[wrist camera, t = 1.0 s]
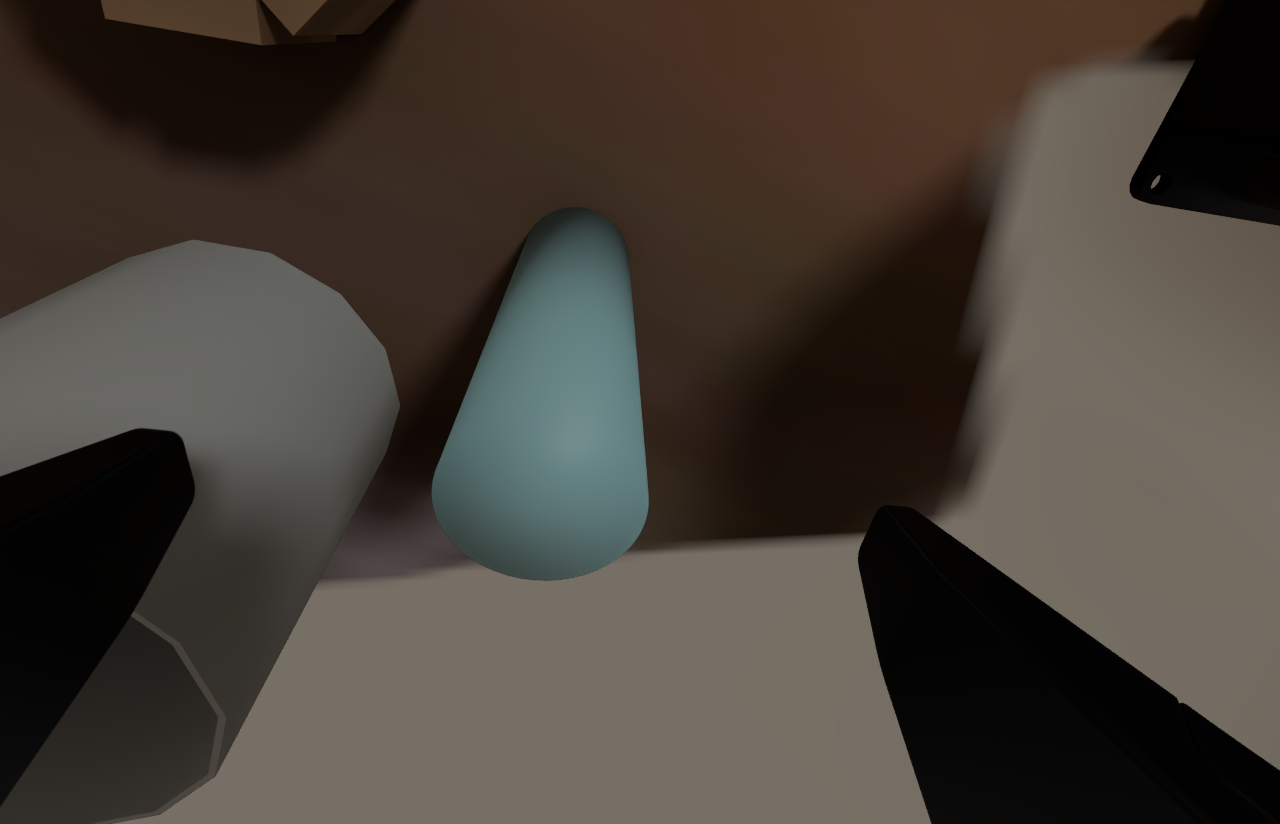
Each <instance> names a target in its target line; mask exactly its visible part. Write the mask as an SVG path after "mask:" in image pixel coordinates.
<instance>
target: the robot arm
mask: <svg viewBox="0 0 1280 824" xmlns="http://www.w3.org/2000/svg"><path fill="white" fill-rule="evenodd" d="M1159 175H1160V176H1161V177H1160V180H1159V182H1158V184H1157V185H1156V186H1155V187H1154V188H1152V189H1151V185H1152V182H1153V181H1154V179H1155V178H1156V177H1157V176H1159ZM1130 193H1131V195H1132V197H1133V198H1135V199H1137V200H1140V201H1143V202H1146V203H1149V204H1155V205H1160V206H1166V207H1172V208H1178V209H1184V210H1190V211H1196V212H1202V213H1208V214H1213V215H1219V216H1225V217H1231V218H1237V219H1243V220H1249V221H1256V222H1261V223H1267V224H1273V225H1279V226H1280V0H1228V1H1227V3H1226V5H1225V7H1224V8H1223V10H1222V12H1221V14H1220V16H1219V18H1218V20H1217V21H1216V23H1215V25H1214V27H1213V29H1212V31H1211V33H1210V34H1209V36H1208V38H1207V40H1206V42H1205V44H1204V46H1203V47H1202V49H1201V51H1200V53H1199V55H1198V57H1197V58H1196V60H1195V62H1194V64H1193V66H1192V68H1191V70H1190V71H1189V73H1188V75H1187V77H1186V79H1185V81H1184V83H1183V84H1182V86H1181V88H1180V90H1179V92H1178V94H1177V96H1176V97H1175V99H1174V101H1173V103H1172V105H1171V107H1170V108H1169V110H1168V112H1167V114H1166V116H1165V118H1164V120H1163V122H1162V123H1161V125H1160V127H1159V129H1158V131H1157V133H1156V134H1155V136H1154V138H1153V140H1152V142H1151V144H1150V146H1149V148H1148V149H1147V151H1146V153H1145V155H1144V157H1143V158H1142V161H1141V162H1140V164H1139V166H1138V168H1137V170H1136V172H1135V173H1134V175H1133V177H1132V180H1131V183H1130ZM194 496H195V482H194V478H193V474H192V471H191V467H190V463H189V459H188V456H187V452H186V448H185V445H184V442H183V439H182V438H181V436H180V435H179V434H178V433H176V432H174V431H169V430H160V429H150V428H136V429H132V430H130V431H127V432H124V433H121V434H118V435H115V436H113V437H110V438H107V439H104V440H101V441H98V442H96V443H93V444H90V445H87V446H84V447H82V448H79V449H76V450H73V451H70V452H67V453H65V454H62V455H59V456H56V457H53V458H50V459H48V460H45V461H42V462H39V463H36V464H33V465H31V466H28V467H25V468H22V469H19V470H16V471H14V472H11V473H8V474H5V475H2V476H0V807H1V806H2V804H3V803H4V801H5V800H6V799H7V797H8V796H9V794H10V793H11V791H12V790H13V788H14V787H15V785H16V784H17V782H18V781H19V780H20V778H21V777H22V775H23V774H24V772H25V771H26V769H27V768H28V766H29V765H30V763H31V762H32V761H33V759H34V758H35V756H36V755H37V753H38V752H39V750H40V749H41V747H42V746H43V744H44V743H45V742H46V740H47V739H48V737H49V736H50V734H51V733H52V731H53V730H54V728H55V727H56V725H57V724H58V723H59V721H60V720H61V718H62V717H63V715H64V714H65V712H66V711H67V709H68V708H69V706H70V705H71V704H72V702H73V701H74V699H75V698H76V696H77V695H78V693H79V692H80V690H81V689H82V687H83V686H84V685H85V683H86V682H87V680H88V679H89V677H90V676H91V674H92V673H93V671H94V670H95V668H96V667H97V666H98V664H99V663H100V661H101V660H102V658H103V657H104V655H105V654H106V652H107V651H108V649H109V648H110V647H111V645H112V644H113V642H114V641H115V639H116V638H117V636H118V635H119V633H120V632H121V630H122V629H123V627H124V626H125V624H126V623H127V621H128V620H129V618H130V616H131V615H132V613H133V612H134V610H135V608H136V607H137V605H138V603H139V601H140V600H141V598H142V596H143V595H144V593H145V591H146V589H147V587H148V585H149V583H150V582H151V580H152V578H153V576H154V574H155V572H156V570H157V569H158V567H159V565H160V563H161V561H162V559H163V557H164V555H165V554H166V552H167V550H168V548H169V546H170V544H171V542H172V541H173V539H174V537H175V535H176V533H177V531H178V529H179V528H180V526H181V524H182V522H183V520H184V518H185V516H186V514H187V513H188V511H189V509H190V507H191V505H192V503H193V500H194ZM858 564H859V570H860V575H861V580H862V584H863V589H864V594H865V598H866V603H867V608H868V612H869V617H870V622H871V627H872V632H873V636H874V641H875V645H876V650H877V654H878V658H879V662H880V666H881V670H882V673H883V676H884V680H885V683H886V686H887V689H888V692H889V695H890V698H891V701H892V705H893V708H894V711H895V714H896V716H897V720H898V723H899V726H900V729H901V732H902V735H903V738H904V741H905V744H906V747H907V750H908V753H909V757H910V760H911V763H912V766H913V769H914V772H915V775H916V778H917V781H918V784H919V787H920V790H921V793H922V796H923V799H924V802H925V805H926V809H927V811H928V815H929V818H930V821H931V824H1280V770H1278V769H1277V768H1275V767H1274V766H1273V765H1271V764H1270V763H1268V762H1267V761H1265V760H1264V759H1263V758H1261V757H1260V756H1258V755H1257V754H1255V753H1254V752H1252V751H1251V750H1250V749H1248V748H1247V747H1245V746H1244V745H1242V744H1241V743H1240V742H1238V741H1237V740H1235V739H1234V738H1232V737H1231V736H1230V735H1228V734H1227V733H1225V732H1224V731H1223V730H1221V729H1220V728H1218V727H1217V726H1216V725H1214V724H1213V723H1211V722H1210V721H1209V720H1207V719H1206V718H1205V717H1203V716H1202V715H1200V714H1199V713H1198V712H1196V711H1195V710H1193V709H1192V708H1191V707H1189V706H1188V705H1186V704H1184V703H1179V702H1178V699H1177V698H1176V697H1175V696H1174V695H1172V694H1171V693H1170V692H1168V691H1167V690H1165V689H1164V688H1163V687H1161V686H1160V685H1158V684H1157V683H1156V682H1154V681H1153V680H1151V679H1150V678H1149V677H1147V676H1146V675H1145V674H1143V673H1142V672H1140V671H1139V670H1137V669H1136V668H1135V667H1133V666H1132V665H1130V664H1129V663H1128V662H1126V661H1125V660H1124V659H1122V658H1121V657H1119V656H1118V655H1117V654H1115V653H1114V652H1112V651H1111V650H1110V649H1108V648H1107V647H1105V646H1104V645H1103V644H1101V643H1100V642H1099V641H1097V640H1096V639H1094V638H1093V637H1091V636H1090V635H1089V634H1087V633H1086V632H1085V631H1083V630H1082V629H1080V628H1079V627H1077V626H1076V625H1075V624H1073V623H1072V622H1071V621H1069V620H1068V619H1066V618H1065V617H1063V616H1062V615H1061V614H1060V613H1058V612H1057V611H1055V610H1054V609H1052V608H1051V607H1050V606H1048V605H1047V604H1046V603H1044V602H1043V601H1041V600H1040V599H1039V598H1037V597H1036V596H1034V595H1033V594H1031V593H1030V592H1029V591H1027V590H1026V589H1025V588H1023V587H1022V586H1021V585H1019V584H1018V583H1016V582H1015V581H1014V580H1012V579H1011V578H1009V577H1008V576H1007V575H1005V574H1004V573H1002V572H1001V571H1000V570H998V569H997V568H996V567H994V566H992V565H991V564H990V563H989V562H987V561H986V560H984V559H983V558H982V557H980V556H979V555H977V554H976V553H975V552H973V551H972V550H970V549H969V548H968V547H966V546H965V545H963V544H962V543H961V542H959V541H958V540H956V539H955V538H954V537H952V536H951V535H950V534H948V533H947V532H945V531H944V530H943V529H941V528H940V527H938V526H937V525H936V524H934V523H933V522H931V521H930V520H929V519H927V518H926V517H925V516H923V515H922V514H920V513H919V512H918V511H916V510H915V509H913V508H910V507H902V506H892V505H885V506H882V507H880V508H879V509H878V510H877V512H876V514H875V516H874V518H873V520H872V522H871V524H870V527H869V529H868V531H867V533H866V535H865V537H864V540H863V542H862V544H861V546H860V550H859V553H858Z"/></svg>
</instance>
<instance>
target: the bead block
mask: <svg viewBox="0 0 1280 824" xmlns="http://www.w3.org/2000/svg"><path fill="white" fill-rule="evenodd" d="M394 1H395V0H101V3H102V7H103V11H104V15H105V19H110V20H116V21H122V22H128V23H134V24H139V25H145V26H151V27H157V28H163V29H169V30H175V31H181V32H187V33H192V34H198V35H204V36H210V37H216V38H222V39H228V40H234V41H240V42H246V43H251V44H257V45H276V44H297V43H317V42H337V39H336V35H345V34H362V33H363V32H364V31H365V30H366V29H367V28H368V27H369V26H370V25H371V24H372V23H373V22H374V21H375V20H376V19H377V18H378V17H379V16H380V15H381V14H382V13H383V12H384V11H385V10H386V9H387V8H388V7H389V6H390V5H391V4H392V3H393V2H394Z"/></svg>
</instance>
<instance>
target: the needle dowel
mask: <svg viewBox="0 0 1280 824" xmlns="http://www.w3.org/2000/svg"><path fill="white" fill-rule="evenodd" d="M432 503H433V508H434V512H435V515H436V518H437V520H438V522H439V524H440V526H441V528H442V530H443V531H444V533H445V534H446V536H447V537H448V538H449V539H450V540H451V542H452V543H453V544H454V545H455V546H456V547H457V548H458V549H459V550H460V551H462V552H463V553H464V554H465V555H467V556H468V557H469V558H471V559H472V560H474V561H475V562H477V563H479V564H481V565H482V566H484V567H486V568H489V569H491V570H493V571H496V572H499V573H502V574H505V575H508V576H512V577H517V578H521V579H529V580H544V581H549V580H562V579H569V578H574V577H578V576H582V575H586V574H588V573H591V572H594V571H596V570H598V569H600V568H602V567H605V566H607V565H608V564H610V563H611V562H613V561H614V560H616V559H617V558H619V557H620V556H621V555H622V554H623V553H625V552H626V551H627V550H628V549H629V547H630V546H631V545H632V544H633V543H634V542H635V540H636V539H637V537H638V536H639V534H640V532H641V530H642V528H643V526H644V524H645V520H646V517H647V513H648V505H649V499H648V484H647V472H646V460H645V448H644V436H643V424H642V412H641V400H640V388H639V376H638V363H637V351H636V339H635V327H634V315H633V303H632V291H631V279H630V267H629V255H628V249H627V246H626V243H625V240H624V238H623V236H622V234H621V233H620V231H619V230H618V229H617V227H616V226H615V225H614V224H613V223H612V222H611V221H610V220H608V219H607V218H606V217H604V216H603V215H601V214H599V213H597V212H595V211H592V210H589V209H585V208H576V207H572V208H564V209H559V210H556V211H554V212H552V213H550V214H548V215H546V216H545V217H543V218H542V219H541V220H540V221H539V222H537V223H536V225H535V226H534V227H533V228H532V230H531V232H530V233H529V235H528V237H527V240H526V242H525V245H524V247H523V250H522V252H521V255H520V257H519V260H518V263H517V265H516V268H515V270H514V273H513V275H512V278H511V280H510V283H509V285H508V288H507V290H506V293H505V296H504V298H503V301H502V303H501V306H500V308H499V311H498V313H497V316H496V318H495V321H494V323H493V326H492V329H491V331H490V334H489V336H488V339H487V341H486V344H485V346H484V349H483V351H482V354H481V356H480V359H479V362H478V364H477V367H476V369H475V372H474V374H473V377H472V379H471V382H470V384H469V387H468V389H467V392H466V395H465V397H464V400H463V402H462V405H461V407H460V410H459V412H458V415H457V417H456V420H455V422H454V425H453V428H452V430H451V433H450V435H449V438H448V440H447V443H446V445H445V448H444V450H443V453H442V455H441V458H440V461H439V463H438V466H437V468H436V471H435V474H434V478H433V482H432Z"/></svg>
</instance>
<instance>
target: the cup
mask: <svg viewBox="0 0 1280 824" xmlns="http://www.w3.org/2000/svg"><path fill="white" fill-rule="evenodd" d="M399 408H400V403H399V399H398V395H397V391H396V388H395V384H394V380H393V376H392V372H391V369H390V365H389V361H388V357H387V353H386V350H385V348H384V347H383V346H382V344H381V343H380V342H379V341H378V339H377V338H376V337H375V336H374V335H373V333H372V332H371V331H370V330H369V328H368V327H367V326H366V325H365V324H364V322H363V321H362V320H361V319H360V317H359V316H358V315H357V314H356V313H355V311H354V310H353V309H352V308H351V306H350V305H349V304H348V303H347V302H346V300H345V299H344V298H343V297H342V295H341V294H340V293H338V292H336V291H335V290H333V289H331V288H329V287H328V286H326V285H324V284H323V283H321V282H319V281H317V280H316V279H314V278H312V277H311V276H309V275H307V274H306V273H304V272H302V271H300V270H299V269H297V268H295V267H294V266H292V265H290V264H288V263H287V262H285V261H283V260H282V259H280V258H278V257H277V256H275V255H273V254H271V253H267V252H261V251H256V250H250V249H244V248H238V247H233V246H227V245H221V244H215V243H210V242H204V241H198V240H190V241H186V242H183V243H179V244H176V245H172V246H169V247H165V248H162V249H158V250H155V251H151V252H148V253H144V254H141V255H137V256H134V257H130V258H127V259H125V260H123V261H121V262H119V263H116V264H114V265H112V266H110V267H108V268H106V269H104V270H102V271H100V272H98V273H95V274H93V275H91V276H89V277H87V278H85V279H83V280H81V281H79V282H77V283H74V284H72V285H70V286H68V287H66V288H64V289H62V290H60V291H58V292H56V293H53V294H51V295H49V296H47V297H45V298H43V299H41V300H39V301H37V302H34V303H32V304H30V305H28V306H26V307H24V308H22V309H20V310H18V311H16V312H13V313H11V314H9V315H7V316H5V317H3V318H1V319H0V476H2V475H5V474H8V473H11V472H14V471H16V470H19V469H22V468H25V467H28V466H31V465H33V464H36V463H39V462H42V461H45V460H48V459H50V458H53V457H56V456H59V455H62V454H65V453H67V452H70V451H73V450H76V449H79V448H82V447H84V446H87V445H90V444H93V443H96V442H98V441H101V440H104V439H107V438H110V437H113V436H115V435H118V434H121V433H124V432H127V431H130V430H132V429H136V428H150V429H160V430H169V431H174V432H176V433H178V434H179V435H180V436H181V438H182V439H183V442H184V445H185V448H186V452H187V456H188V459H189V463H190V467H191V471H192V474H193V478H194V482H195V496H194V500H193V503H192V505H191V507H190V509H189V511H188V513H187V514H186V516H185V518H184V520H183V522H182V524H181V526H180V528H179V529H178V531H177V533H176V535H175V537H174V539H173V541H172V542H171V544H170V546H169V548H168V550H167V552H166V554H165V555H164V557H163V559H162V561H161V563H160V565H159V567H158V569H157V570H156V572H155V574H154V576H153V578H152V580H151V582H150V583H149V585H148V587H147V589H146V591H145V593H144V595H143V596H142V598H141V600H140V601H139V603H138V605H137V607H136V608H135V610H134V612H133V613H132V615H131V616H130V618H129V620H128V621H127V623H126V624H125V626H124V627H123V629H122V630H121V632H120V633H119V635H118V636H117V638H116V639H115V641H114V642H113V644H112V645H111V647H110V648H109V649H108V651H107V652H106V654H105V655H104V657H103V658H102V660H101V661H100V663H99V664H98V666H97V667H96V668H95V670H94V671H93V673H92V674H91V676H90V677H89V679H88V680H87V682H86V683H85V685H84V686H83V687H82V689H81V690H80V692H79V693H78V695H77V696H76V698H75V699H74V701H73V702H72V704H71V705H70V706H69V708H68V709H67V711H66V712H65V714H64V715H63V717H62V718H61V720H60V721H59V723H58V724H57V725H56V727H55V728H54V730H53V731H52V733H51V734H50V736H49V737H48V739H47V740H46V742H45V743H44V744H43V746H42V747H41V749H40V750H39V752H38V753H37V755H36V756H35V758H34V759H33V761H32V762H31V763H30V765H29V766H28V768H27V769H26V771H25V772H24V774H23V775H22V777H21V778H20V780H19V781H18V782H17V784H16V785H15V787H14V788H13V790H12V791H11V793H10V794H9V796H8V797H7V799H6V800H5V801H4V803H3V804H2V806H1V807H0V824H112V823H118V822H123V821H129V820H134V819H139V818H145V817H150V816H155V815H160V814H161V813H163V812H164V811H166V810H167V809H169V808H170V807H172V806H173V805H174V804H176V803H177V802H179V801H180V800H182V799H183V798H185V797H186V796H188V795H189V794H191V793H192V792H193V791H195V790H196V789H198V788H199V787H201V786H202V785H204V784H205V783H207V782H208V781H209V780H211V779H212V778H214V777H215V776H216V774H217V772H218V771H219V769H220V767H221V765H222V763H223V761H224V759H225V757H226V755H227V753H228V752H229V750H230V748H231V746H232V744H233V742H234V740H235V738H236V736H237V734H238V733H239V731H240V729H241V727H242V725H243V723H244V721H245V719H246V717H247V716H248V714H249V712H250V710H251V708H252V706H253V704H254V702H255V700H256V698H257V696H258V695H259V693H260V691H261V689H262V687H263V685H264V683H265V681H266V680H267V677H268V676H269V674H270V672H271V670H272V668H273V666H274V664H275V662H276V661H277V658H278V657H279V655H280V653H281V651H282V649H283V647H284V645H285V644H286V642H287V640H288V638H289V636H290V634H291V632H292V630H293V628H294V626H295V625H296V623H297V621H298V619H299V617H300V615H301V613H302V611H303V609H304V607H305V606H306V604H307V602H308V600H309V598H310V596H311V594H312V592H313V590H314V589H315V587H316V585H317V583H318V581H319V579H320V577H321V575H322V573H323V571H324V570H325V568H326V566H327V564H328V562H329V560H330V558H331V556H332V554H333V553H334V551H335V549H336V547H337V545H338V543H339V541H340V539H341V537H342V535H343V534H344V532H345V530H346V528H347V526H348V524H349V522H350V520H351V518H352V517H353V515H354V513H355V511H356V509H357V507H358V505H359V503H360V501H361V499H362V498H363V496H364V494H365V492H366V490H367V488H368V486H369V484H370V482H371V480H372V479H373V477H374V475H375V473H376V471H377V469H378V467H379V465H380V463H381V462H382V460H383V458H384V456H385V454H386V452H387V448H388V445H389V442H390V438H391V435H392V431H393V428H394V425H395V421H396V418H397V415H398V411H399Z"/></svg>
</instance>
